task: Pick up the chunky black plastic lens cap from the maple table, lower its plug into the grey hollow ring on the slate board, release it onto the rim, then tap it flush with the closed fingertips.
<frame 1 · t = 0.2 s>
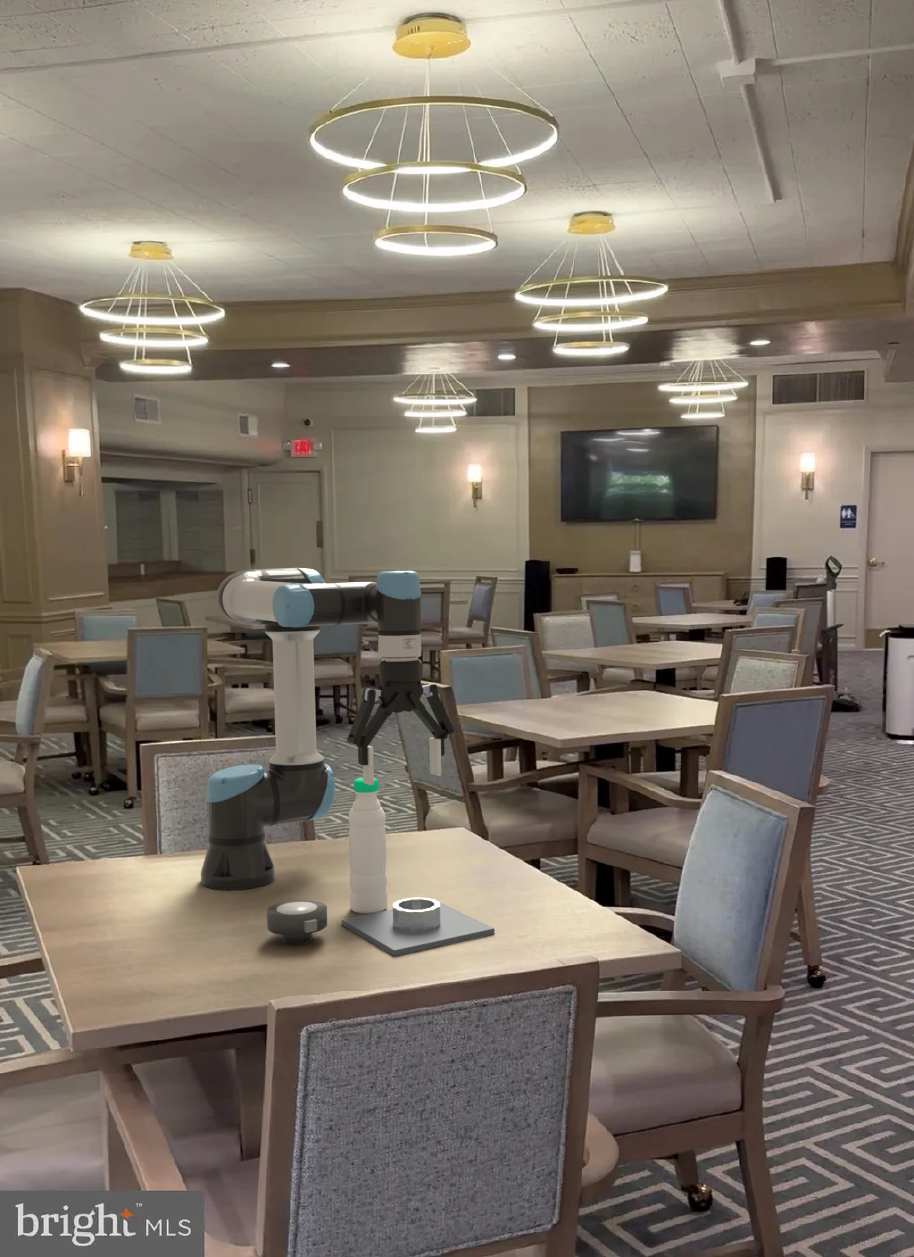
hand: (402, 779, 200), 27 cm above the table, fingers open, 13 cm apart
slate board: (416, 929, 203), on the table
grey hollow ring: (416, 914, 203), on the slate board, point 3 cm above the table
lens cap: (297, 939, 199), on the table
water bottle: (368, 910, 215), on the table
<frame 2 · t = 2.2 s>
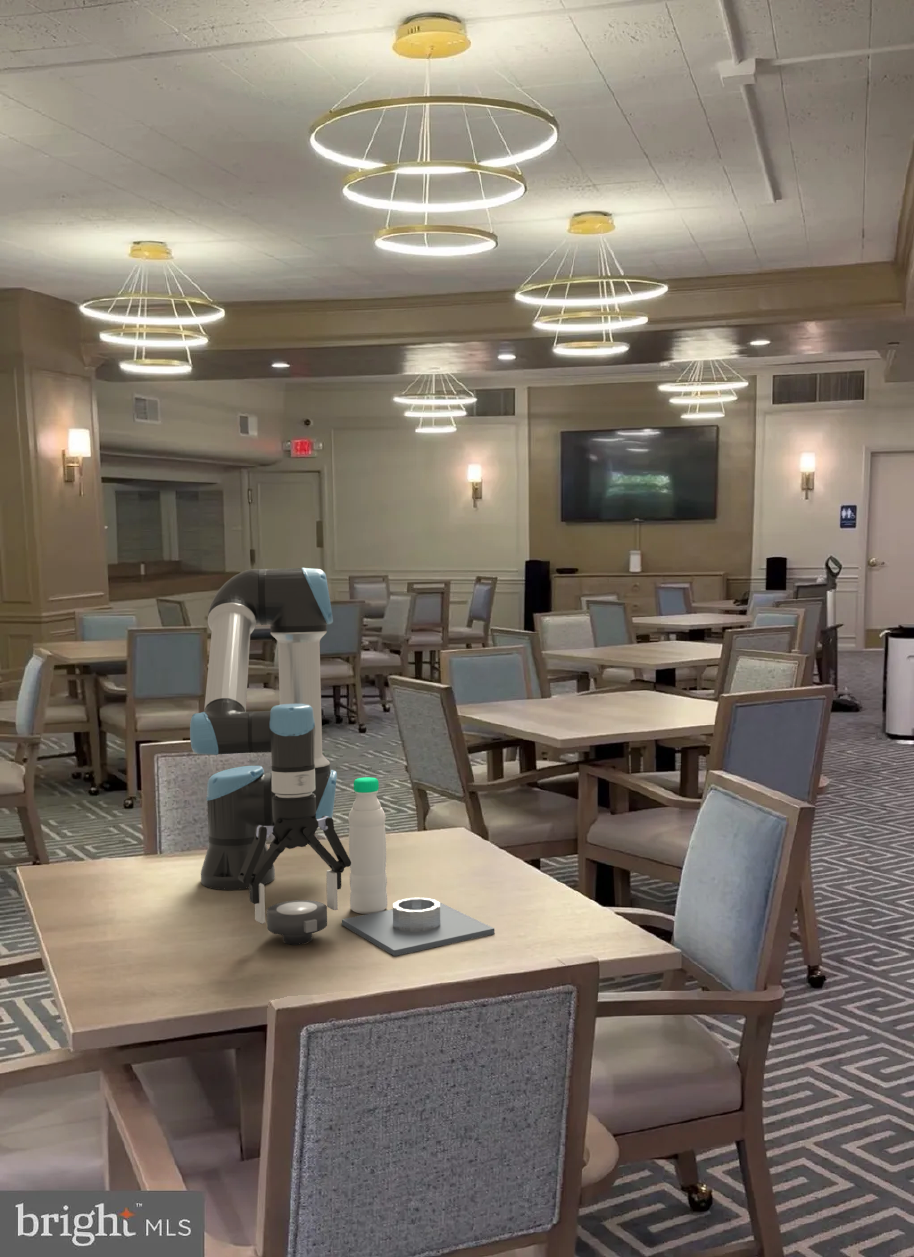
hand: (296, 915, 198), 5 cm above the table, fingers open, 13 cm apart
nothing on the table moved.
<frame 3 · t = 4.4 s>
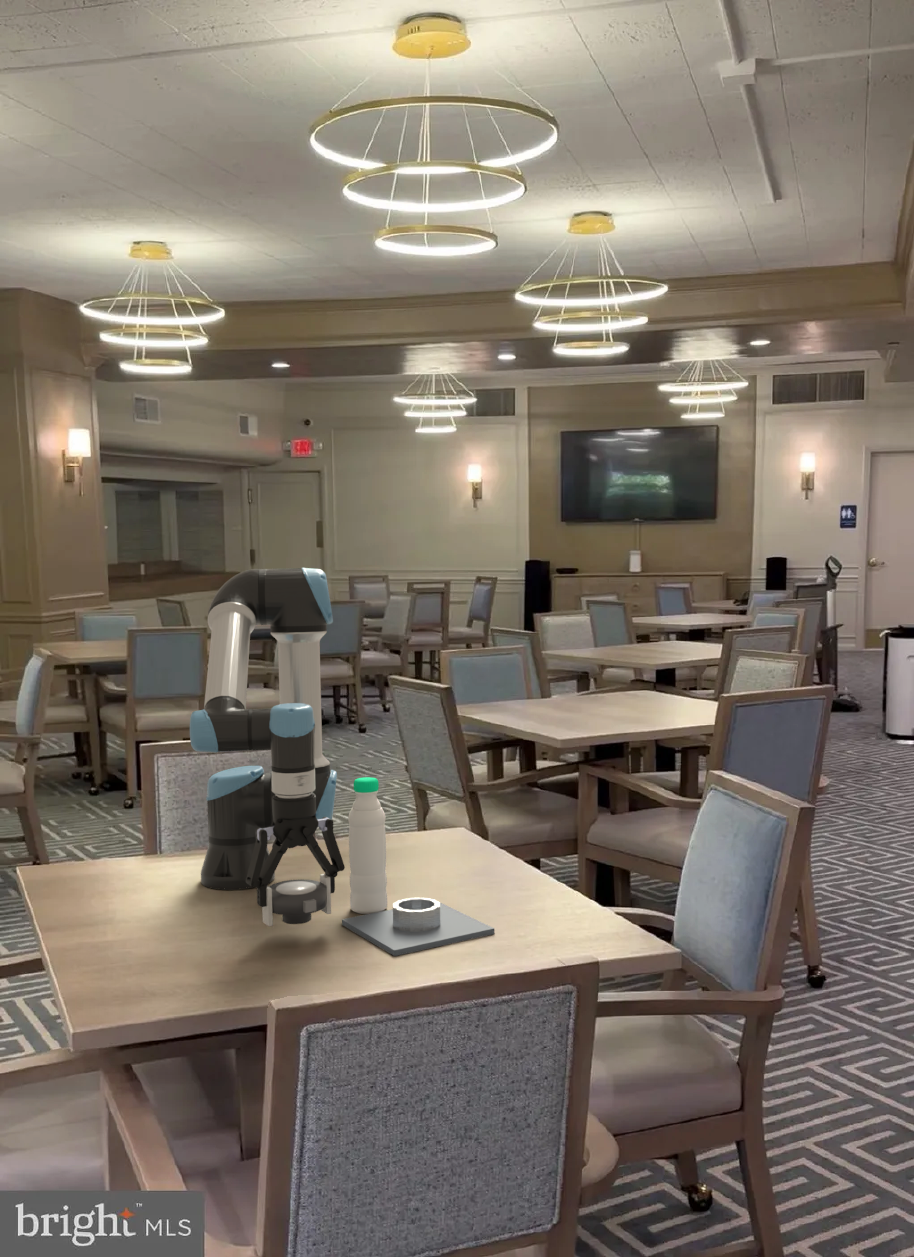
hand: (297, 917, 199), 4 cm above the table, fingers closed on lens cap, 10 cm apart
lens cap: (296, 919, 199), point 3 cm above the table, touching gripper
everything else where it was.
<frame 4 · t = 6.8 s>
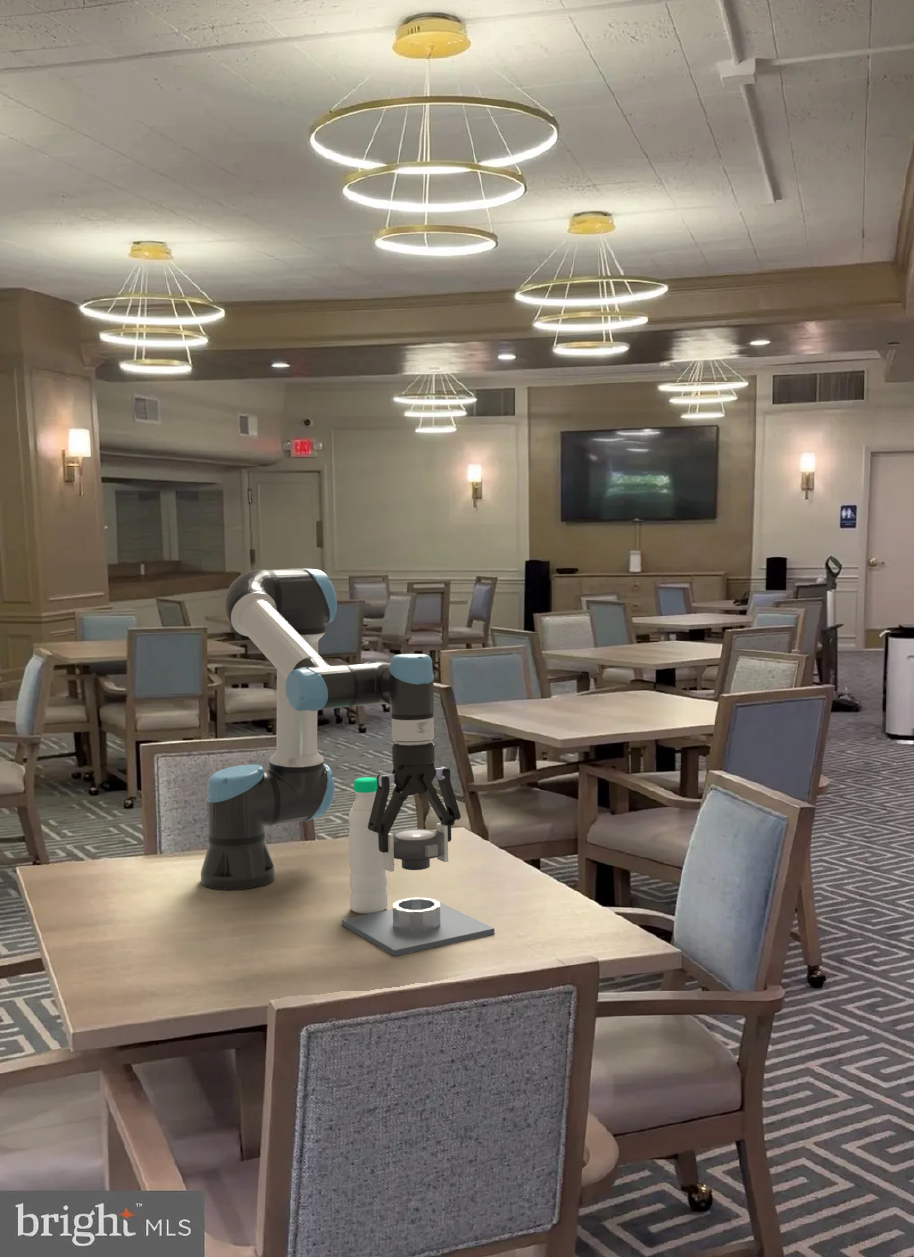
hand: (416, 865, 202), 12 cm above the table, fingers closed on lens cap, 10 cm apart
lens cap: (415, 866, 202), point 11 cm above the table, touching gripper
everything else where it was.
when the fingers open (3 cm above the table, at t = 9.2 s): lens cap stays where it is, resting on grey hollow ring.
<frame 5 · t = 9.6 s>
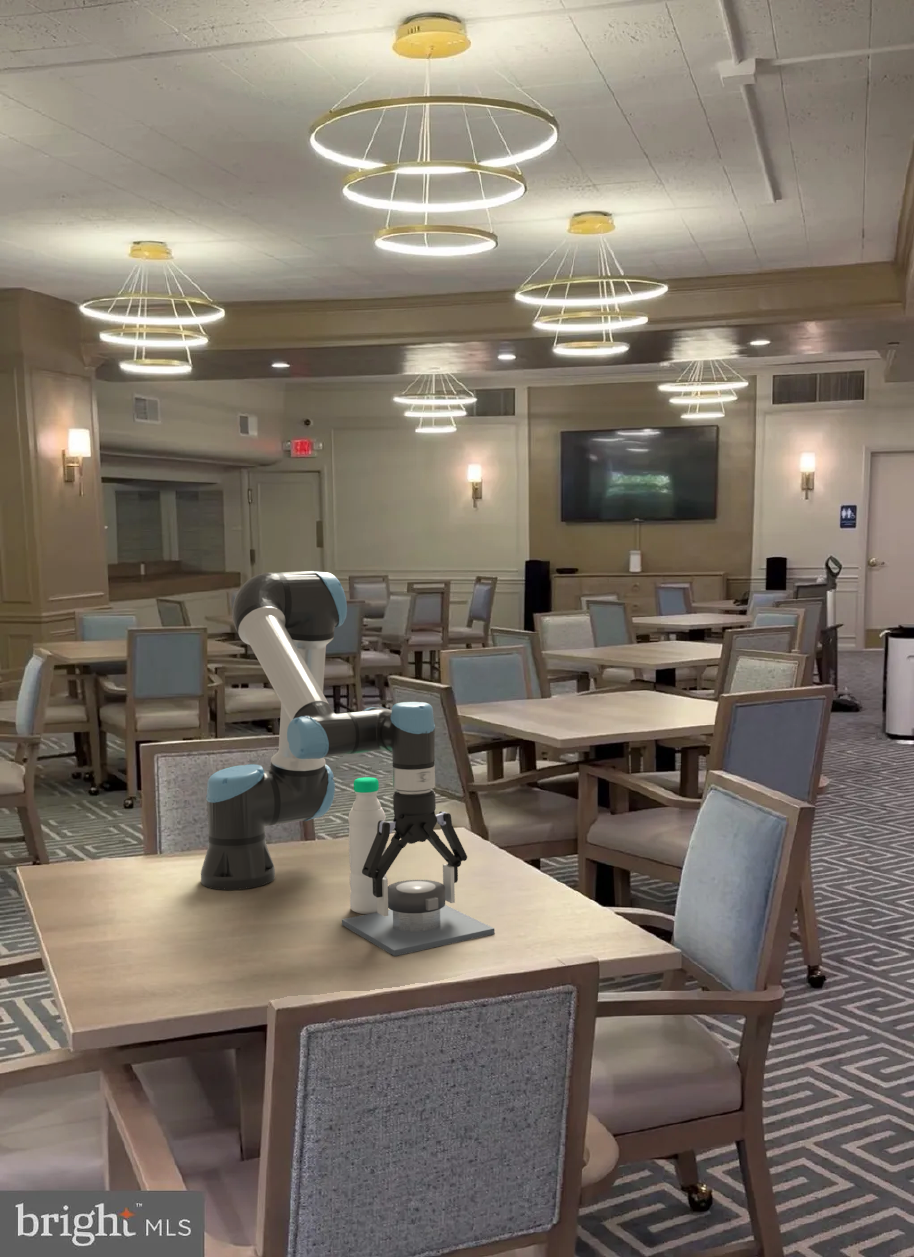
hand: (416, 907, 203), 4 cm above the table, fingers open, 13 cm apart
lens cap: (416, 918, 203), point 2 cm above the table, touching grey hollow ring
everything else where it was.
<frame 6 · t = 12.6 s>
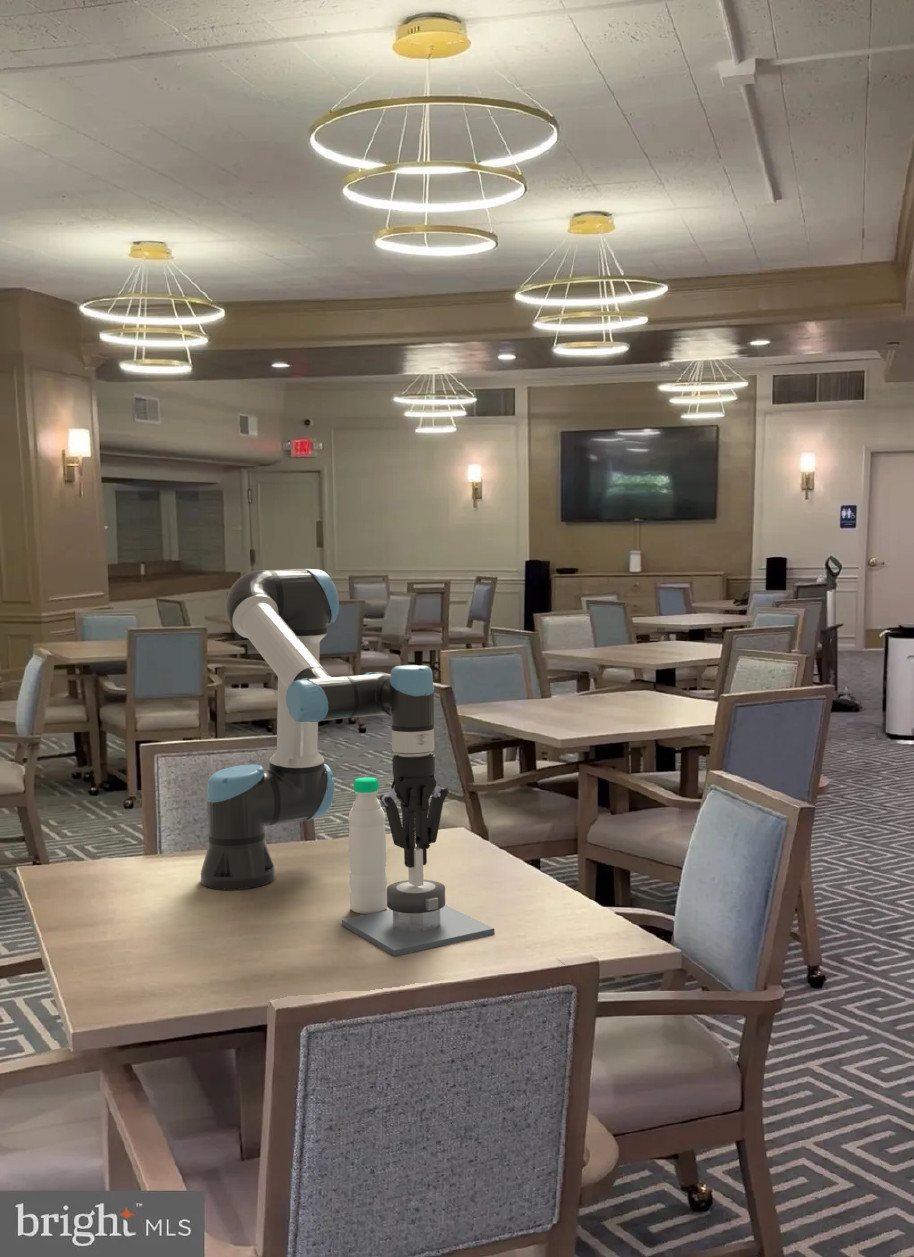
hand: (416, 884, 203), 8 cm above the table, fingers closed
nothing on the table moved.
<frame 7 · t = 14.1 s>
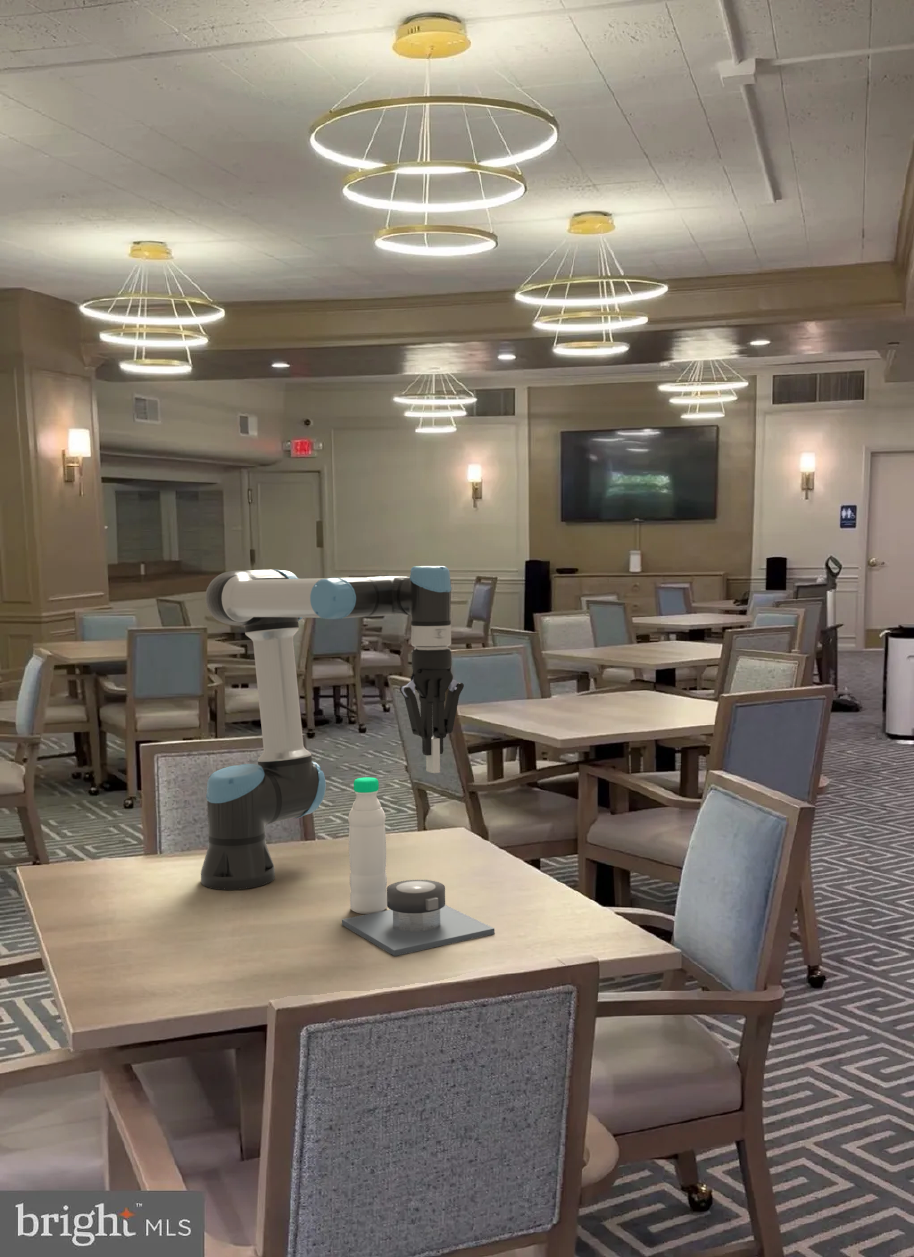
hand: (433, 771, 215), 26 cm above the table, fingers closed
nothing on the table moved.
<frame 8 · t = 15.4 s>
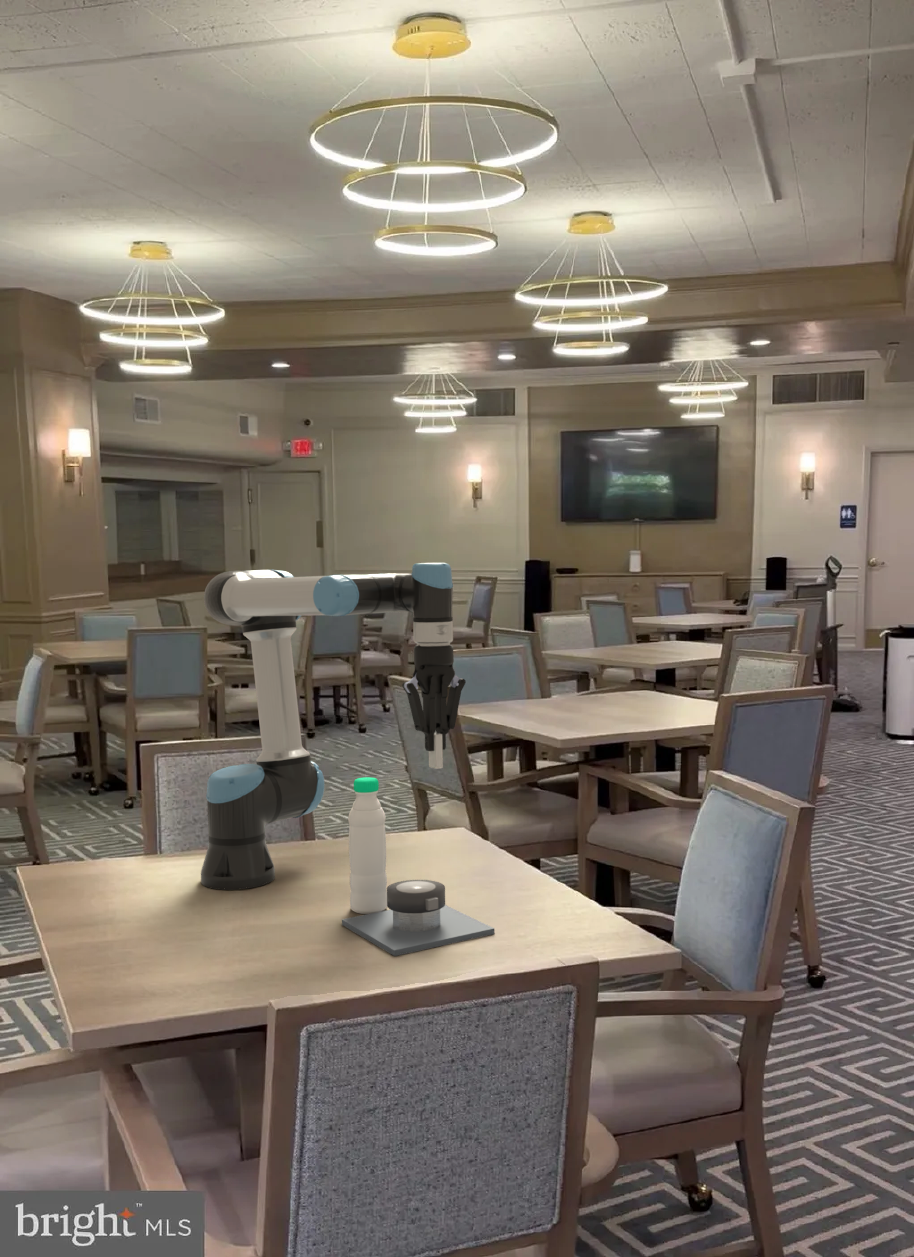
hand: (435, 767, 217), 26 cm above the table, fingers closed
nothing on the table moved.
at the end: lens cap 0.1 cm off-centre on the grey hollow ring, point 2.0 cm above the grey hollow ring's base; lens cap tilted 0°; the gripper is holding nothing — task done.
